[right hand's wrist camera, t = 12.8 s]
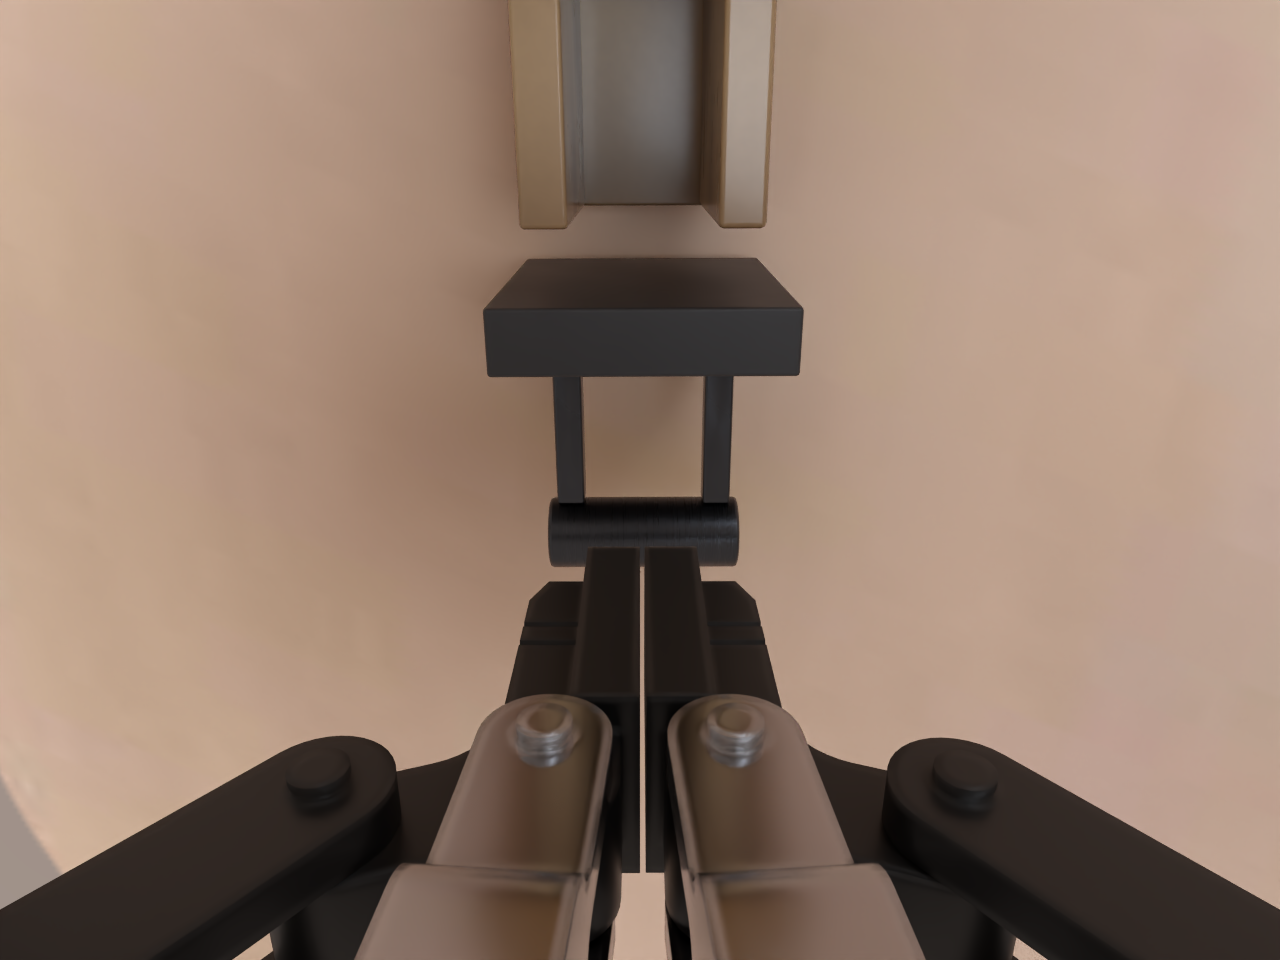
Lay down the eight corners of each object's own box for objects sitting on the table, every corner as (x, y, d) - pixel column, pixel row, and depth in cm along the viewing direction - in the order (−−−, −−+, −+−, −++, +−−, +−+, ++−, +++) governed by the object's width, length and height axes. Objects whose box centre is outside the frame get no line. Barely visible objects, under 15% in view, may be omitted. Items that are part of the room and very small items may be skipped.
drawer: (746, 510, 23) (783, 639, 17) (539, 510, 23) (505, 640, 17) (790, -500, 16) (880, -877, 10) (489, -500, 16) (399, -873, 10)
